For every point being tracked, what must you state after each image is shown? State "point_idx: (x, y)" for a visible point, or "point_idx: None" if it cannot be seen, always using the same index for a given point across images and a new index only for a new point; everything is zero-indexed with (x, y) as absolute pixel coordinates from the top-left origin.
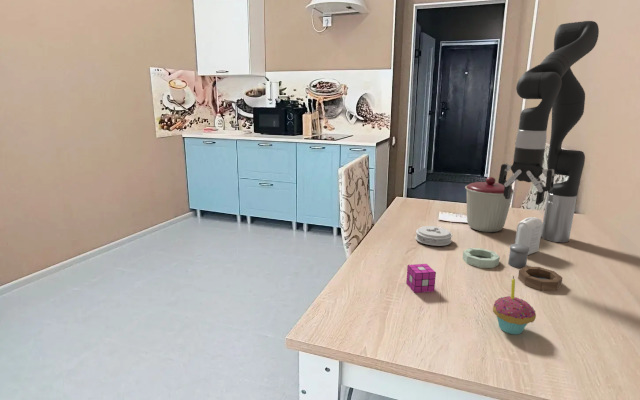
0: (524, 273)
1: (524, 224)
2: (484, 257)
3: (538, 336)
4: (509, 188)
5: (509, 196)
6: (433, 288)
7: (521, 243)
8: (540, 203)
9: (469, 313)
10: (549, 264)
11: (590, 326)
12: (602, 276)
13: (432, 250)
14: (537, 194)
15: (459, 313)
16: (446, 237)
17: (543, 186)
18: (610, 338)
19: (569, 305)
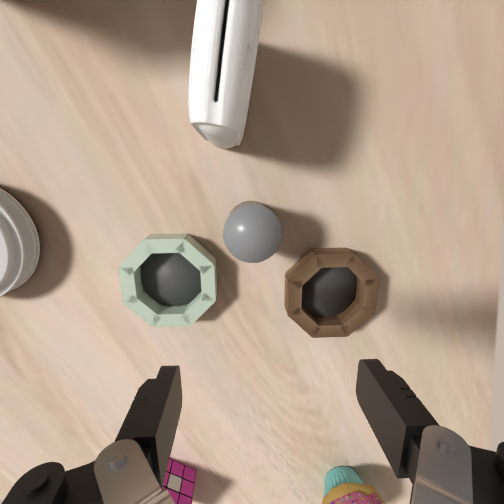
0: (303, 322)
1: (221, 126)
2: (170, 254)
3: (377, 468)
4: (162, 463)
5: (177, 386)
6: (194, 478)
7: (227, 143)
8: (375, 359)
9: (277, 485)
10: (314, 146)
11: (435, 391)
12: (442, 123)
13: (43, 305)
14: (391, 458)
15: (266, 494)
16: (17, 255)
17: (463, 480)
18: (462, 404)
19: (397, 346)
